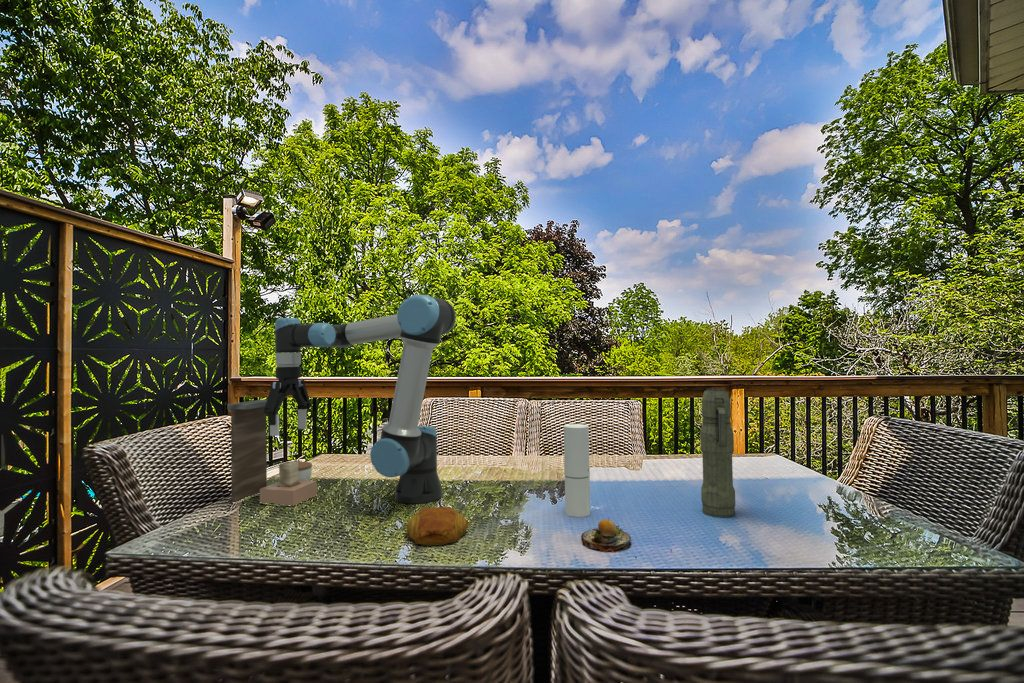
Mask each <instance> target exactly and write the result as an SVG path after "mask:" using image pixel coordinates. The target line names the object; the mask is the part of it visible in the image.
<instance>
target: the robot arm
mask: <svg viewBox="0 0 1024 683" xmlns="http://www.w3.org/2000/svg"><path fill="white" fill-rule="evenodd" d="M456 320H457V315H456V311H455V308H454V306H453V305H452V304H451V303H450V302H449V301H447V300H445V299H443V298H440V297H439V298H438V297H434V296H430V295H427V294H414V295H411V296H408V297H407V298H405V299H404V300H403V301H402V302H401V304H400V306H399V308H398V310H397V314H391V315H386V316H380V317H374V318H370V319H365V320H364V319H363V320H359V321H358V320H357V321H354V322H348V323H343V324H341V323H340V324H330V323H328V322H315V323H313V322H312V323H301V320H300V319H299V318H295V317H294V318H293V317H280V318H277V319H276V320H275V326H274V341H275V344H274V345H275V365H276V366H277V367H275V379H277V380H278V382H277V381H272V382H271V383H270V390H269V392H268V396H267V399H266V400H267V402H266V405H265V408H264V413H266V416H267V415H268V425H269V436H270V437H275V436H276V437H278V436H280V414H279V413H278V412H279V410H280V408H281V407H282V404H283V402H284V400H285V399H286V397H288V396H292V397H293V398H292V399H294V402H295V403H296V404H297V406H298V408H299V409H297V429H298V430H307V427H308V426H307V424H308V423H307V418H308V411H307V410H309V409H311V406H312V402H311V399H310V396H309V394H308V391H307V388H306V380H305V379H300V378H301V377H302V367H301V366H300V365H301V364H302V360H301V359H302V353H301V349H302V348H340V349H341V348H342V349H343V348H348V347H352V346H354V345H358V344H365V343H370V342H371V343H372V342H378V341H383V340H389V339H395V338H396V339H397V338H400V340H401V341H402V343H403V347H402V352H401V357H400V358H401V359H400V363H399V368H398V374H397V379H396V383H395V389H394V393H393V394H394V395H393V400H392V403H391V409H390V414H389V420H388V422H386V424H384V425H383V426H382V427H381V432H380V439H378V440H376V442H374V444H373V445H372V447H371V449H370V456H369V457H370V462H371V464H372V466H373V467H374V469H375V471H376V472H377V473H379V474H380V475H381V476H384V477H386V478H395V477H398V478H399V479H398V480H397V481H398V482H397V485H396V488H395V492H394V495H395V496H394V497H395V498H394V499H395V500H396V501H397V502H399V503H402V504H403V503H404V504H425V503H430V502H434V501H437V500H440V499H441V498H442V497H443V494H444V493H443V491H444V490H443V486H442V483H441V480H440V477H439V475H438V459H437V458H438V457H437V456H438V454H437V453H438V450H437V448H438V447H437V446H438V444H437V443H438V442H437V439H438V436H437V430H436V427H434V426H429V425H419V422H420V416H421V412H422V406H423V401H424V397H425V391H426V386H427V382H428V381H427V380H428V377H429V371H430V366H431V362H432V355H433V351H434V348H436V347H437V346H439V345H440V342H441V337H442V336H443V335H446V334H447V333H449V332H450V331H451V330H452V329H453V328H454V326H455V324H456Z"/></svg>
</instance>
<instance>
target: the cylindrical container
mask: <svg viewBox="0 0 1024 683" xmlns="http://www.w3.org/2000/svg"><path fill="white" fill-rule="evenodd" d="M589 429H590V428H589V425H588V424H581V423H576V424H575V423H573V424H572V423H571V424H565V425H563V453H564V454H563V456H564V462H563V463H564V467H563V468H564V504H565V505H564V507H565V508H564V510H565V511H564V512H565V513H564V514H565V515H567V516H569V517H573V518H584V517H588V516H590V515H591V485H590V484H591V481H590V480H591V478H590V476H591V475H590V471H591V470H590V433H589V432H590V430H589Z"/></svg>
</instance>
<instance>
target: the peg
mask: <svg viewBox="0 0 1024 683" xmlns="http://www.w3.org/2000/svg"><path fill="white" fill-rule="evenodd" d="M298 462H299V461H297V462H294V461H285V462H283V463H278V469H279V470H278V472H279V476H278V477H279V478H278V480H279V481H278V482H279V487H290V488H291V487H294V486H296V485H298Z"/></svg>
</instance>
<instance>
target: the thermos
mask: <svg viewBox="0 0 1024 683" xmlns="http://www.w3.org/2000/svg"><path fill="white" fill-rule="evenodd" d="M731 411H732V410H731V398H730V395H729V392H728V391H727V390H725V389H724V388H723V389H722V388H707V389H706V390H704V392H703V394H702V398H701V416H702V422H701V424H702V425H701V428H700V432H699V437H700V438H699V439H700V450H701V453H702V485H701V487H700V492H701V493H700V495H701V496H700V497H701V503H702V510H701V511H702V513H703V514H704V515H706V516H710V517H715V518H732V517H734V516H735V515H736V511H735V510H736V508H735V507H736V489H735V487H734V484H733V483H734V482H733V481H734V480H733V475H734V472H733V453H734V451H735V446H734V445H735V444H734V443H735V441H734V431H733V428H732V422H731V418H732V417H731V414H732V412H731Z"/></svg>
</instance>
